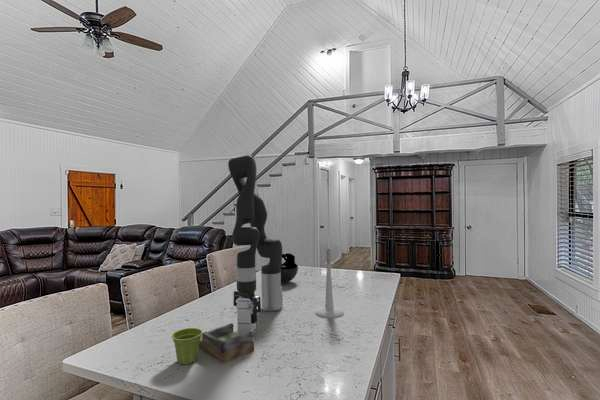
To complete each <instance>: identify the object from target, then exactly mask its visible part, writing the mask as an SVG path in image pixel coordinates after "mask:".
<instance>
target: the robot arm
mask: <svg viewBox="0 0 600 400" xmlns="http://www.w3.org/2000/svg"><path fill="white" fill-rule="evenodd" d="M227 166H228V171H229V174H230V176H231V178H232V181H233V183H234V185H235V187H236V189H237V192H238V194H239V195H238V196H237V199H236V203H235V206H236V207H235V213H236V215H235V216H236V217H235V219H236V220H235V224H234V228H233V231H232V234H231V240H232V241H231V242H232V243H233V244H234V245H235V246H240V247H241V246H249V248H248V249H246V250H242V251H239V252H237V255H236V290H234V291H233V300H232V301H233V302H232V303H233V306H234V307H235V308H236V309H237V299H238V298H239V297H244V298H249V299H250V300H251V301H252V303H253V305H250V304H249V303H248V302H247V307H248V309H250V312H251V323H252V324H254V323H256V324H257V321H258V313H261V312H262V310H263V311H265V312H274V311H279V310H281V309H282V308H283V305H284V304H283V303H284V302H283V301H284V299H283V287H282V285H281V284H282V283H281V265H282V264H283V258H282V254H283V245H282V242H281V240H279V239H278V238H276V239H275V238H268V237H267V235H266V231H265V225H266V222H267V219H268V212H267V208H266V205H265V203H264V200H263V199H262V198H261V196H259V195H258V194H257V192H255V189H256V180H257V163H256V160H255V158H254V157H253V155H250V154H246V155H241V156H238V157H233V158H230V159H229V160H228V163H227ZM245 178H246V180H244V179H245ZM247 224H249V225H250V226H244V225H247ZM256 251H257V252H256ZM256 253H258V255H259V257H262V258H264V259H269V263H268V264H264V265H262V267H261V269H260V270H261V271H260V272H261V275H260V276H261V296H260V295H257V296H255V295H256V294H255V292H256V291H257V270H256ZM252 308H254V310H253V309H252Z"/></svg>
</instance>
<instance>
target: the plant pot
mask: <svg viewBox="0 0 600 400" xmlns="http://www.w3.org/2000/svg"><path fill="white" fill-rule="evenodd" d="M202 333H203V330H202V329H201V328H197V327H187V328H182V329H178V330H177V331H174V332H173V333H172V334H171V339H172V340H173V343H174V348H175V356H176V362H177V363H178V364H179V365H189V364H191V363H194V362H196V361H197V360H198V358H199V356H198V355H199V350H200V349H199V342H200V338H201V334H202Z"/></svg>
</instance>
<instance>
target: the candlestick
mask: <svg viewBox="0 0 600 400" xmlns="http://www.w3.org/2000/svg"><path fill="white" fill-rule="evenodd" d="M325 250H326V252H325V253H326V259H325V260H326V262H324V264H325V268H326V282H325V283H326V284H325V305H324V306H320V307H318V308H317V309H316V310H315V311H314V313H315V316H317V317H320V318H324V319H337V318H341V317H342V316H344V310H343V309H341V308H340V307H339V306H338V307H337V306H335V305H334V298H333V284H332V283H333V282H332V270H331V268H332V267H333V266H332V264H333V262H332V256H331V253H332V251H331V247H327V248H326V249H325Z"/></svg>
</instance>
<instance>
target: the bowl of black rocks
mask: <svg viewBox="0 0 600 400" xmlns="http://www.w3.org/2000/svg"><path fill="white" fill-rule="evenodd" d="M295 257H296V256H295V255H294V254H292V253H282V259H284V261H285V262H282V265H281V284H286V283H290V282H291V281H292V280H293V279H294V278H295V277H296V276H297V273H298V270H299V266H298V264H297V263H296V258H295Z"/></svg>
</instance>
